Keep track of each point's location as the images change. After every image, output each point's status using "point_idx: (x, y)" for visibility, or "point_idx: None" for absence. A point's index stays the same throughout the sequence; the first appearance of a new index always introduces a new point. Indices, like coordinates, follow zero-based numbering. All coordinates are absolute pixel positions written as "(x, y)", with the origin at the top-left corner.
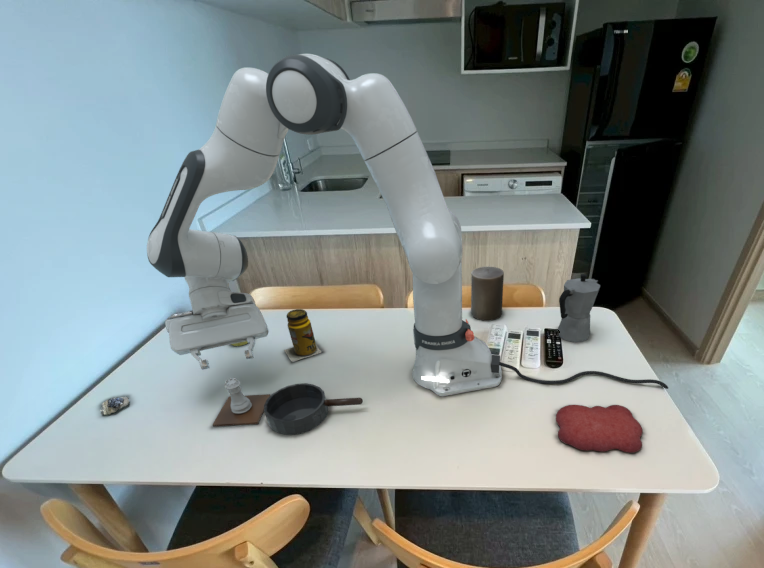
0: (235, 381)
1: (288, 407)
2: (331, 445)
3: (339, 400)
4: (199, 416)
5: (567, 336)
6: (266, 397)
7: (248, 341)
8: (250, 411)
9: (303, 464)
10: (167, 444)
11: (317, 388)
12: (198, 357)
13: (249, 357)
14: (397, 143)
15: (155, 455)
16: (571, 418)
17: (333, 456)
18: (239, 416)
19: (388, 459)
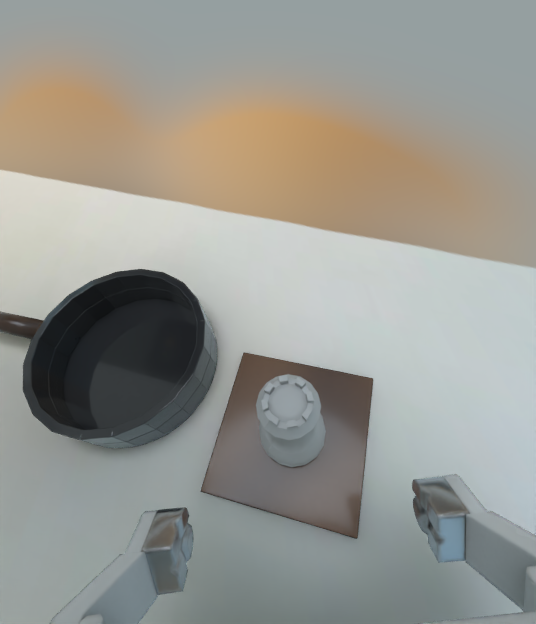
0: (266, 389)
1: (156, 397)
2: (104, 253)
3: (10, 317)
4: (439, 451)
5: None
6: (214, 473)
7: (93, 619)
8: None
9: (164, 225)
10: (482, 343)
11: (33, 388)
12: (501, 534)
13: (167, 510)
14: None
15: (493, 311)
16: None
17: (111, 230)
18: None
19: (35, 209)
